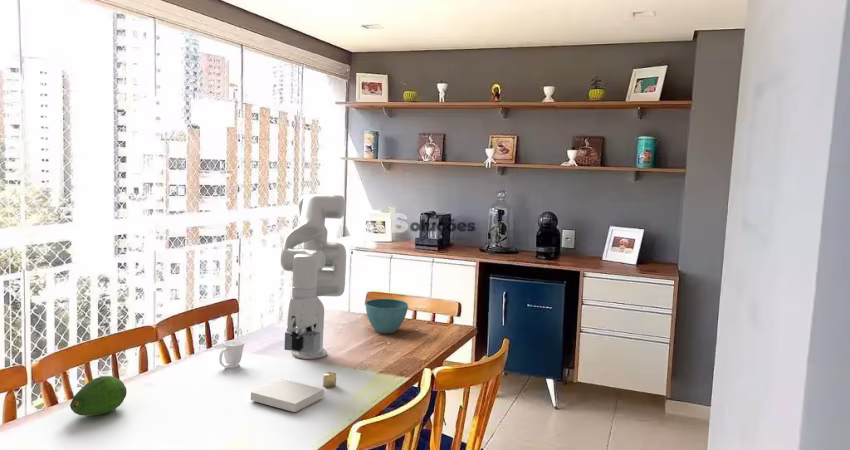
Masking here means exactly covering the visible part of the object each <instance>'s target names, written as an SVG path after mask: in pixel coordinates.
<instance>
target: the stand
mask: <svg viewBox="0 0 850 450" xmlns="http://www.w3.org/2000/svg"><path fill="white" fill-rule="evenodd" d="M323 398H325V388H320V387H317V386H312V385H309V384H304V383H302V382H301V383H300V382H297V381H293V380H288V379H285V378H280V379H278V380H275V381H274V382H271V383H269V384H267V385H265V386H264V385H263V386H261V387H259V388H258V389H255V390H253V391H250V401H252V402H255V403H259V404H263V405H267V406H271V407H274V408H279V409H282V410H286V411H288V412H292V413H298V412H299V411H301V410H303V409H306V408H307V407H310V406H311V405H313V404H314V403H317V402H319V401H320V400H321V399H323Z"/></svg>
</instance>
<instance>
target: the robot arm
mask: <svg viewBox="0 0 850 450" xmlns="http://www.w3.org/2000/svg"><path fill="white" fill-rule="evenodd" d="M346 205H347V204H346V200H345V197H344V196H343V195H336V194H323V193H322V194H321V193H315V194H314V193H313V194H312V193H308V194H304V195H302V196H300V197H299V199H298V210H299V211H298V212H299V215H300V219H299V225H298V226H296V227H295V228H294V229H292V230H291V231H290V232H289V233H288V234H287V236H286V237H285V238H284V240H283V244H282V249H281V254H280V266H281V268H282V269H283V270H284V271H287V272H292V285H291V286H292V287H291V288H292V289H291V290H292V291H291V292H292V293H291V297H290V300H289V305H288V311H287V328H286V332H288V333H289V334H290V335H291V338H292V350H296V351H291V352H292V353H291V355H292V356H293V357H295V358H297V359H302V360H305V359H306V360H316V359H322V358H324V357H326V355H327V353H328V351H327V349H325V348H324V347H323V346H324V329H325V328H324V326H325V325H324V323H325V306H324V304H323V302H322V301H321V299H320V298H319V297H340V296H342V295H343V294H344V292H345V287H346V270H347V269H346V268H347V251H346V247H345V245H344V244H343V243H340V242H328V229H327V226H326V225H325V224H326V223H325V222H326V219H340V220H341V219H342V218H343V217H344V215H345V213H346ZM300 244H303V248H297V247H296V246H298V245H300ZM295 247H296V248H295ZM328 269H329V270H328ZM331 269H332V270H331ZM296 330H298V332H297V333H296V332H295V331H296ZM302 330H305V331H313V332H320V349H319V350H318V351H317V352H315V353H314V354H311V353H304V352H297V351H300V350H301V338H300V335H301V331H302Z"/></svg>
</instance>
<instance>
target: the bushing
mask: <svg viewBox="0 0 850 450" xmlns="http://www.w3.org/2000/svg"><path fill="white" fill-rule="evenodd" d="M322 382H323V383H322V384H323V385H322V388H324V387H325V388H324V389H334V388H336V387H337V372H333V371H326V372H324V373H323V381H322Z"/></svg>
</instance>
